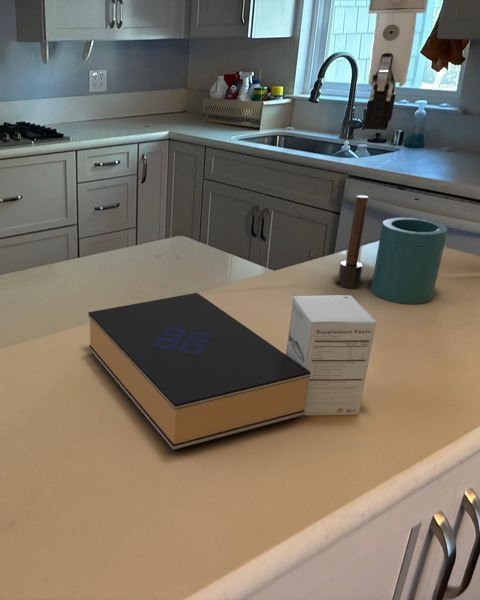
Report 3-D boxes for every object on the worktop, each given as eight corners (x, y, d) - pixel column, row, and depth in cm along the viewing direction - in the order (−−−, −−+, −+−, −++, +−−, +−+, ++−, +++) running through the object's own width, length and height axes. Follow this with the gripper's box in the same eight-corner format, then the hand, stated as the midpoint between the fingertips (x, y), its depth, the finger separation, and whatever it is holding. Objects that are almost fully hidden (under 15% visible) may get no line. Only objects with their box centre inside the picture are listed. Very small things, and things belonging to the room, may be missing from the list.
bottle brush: (352, 280, 111) (366, 193, 104) (363, 288, 107) (378, 198, 101) (333, 281, 110) (346, 194, 104) (343, 289, 107) (357, 199, 101)
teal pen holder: (410, 281, 110) (423, 216, 105) (444, 302, 101) (461, 232, 96) (360, 284, 109) (371, 219, 104) (390, 306, 100) (404, 236, 96)
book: (195, 332, 93) (197, 292, 91) (304, 421, 72) (311, 371, 69) (88, 354, 88) (88, 312, 85) (172, 456, 67) (175, 404, 64)
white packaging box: (280, 383, 80) (291, 294, 74) (338, 383, 79) (353, 293, 74) (297, 417, 73) (310, 320, 68) (360, 416, 72) (379, 320, 67)
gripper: (426, 0, 80) (402, 134, 87) (427, 3, 94) (406, 118, 101) (364, 2, 83) (345, 131, 90) (374, 5, 97) (357, 116, 104)
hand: (377, 124), depth 96 cm, fingers open, 9 cm apart
